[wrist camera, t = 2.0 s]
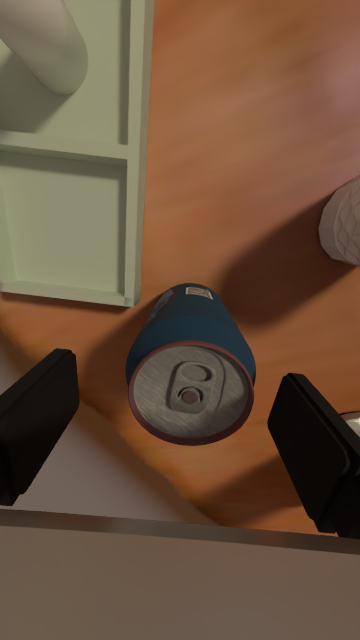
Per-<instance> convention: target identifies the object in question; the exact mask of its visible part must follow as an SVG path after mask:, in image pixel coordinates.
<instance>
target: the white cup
mask: <svg viewBox="0 0 360 640" xmlns="http://www.w3.org/2000/svg"><path fill="white" fill-rule="evenodd" d="M318 231H319V237H320V242H321V246H322V248H323V249H324V250H325V251H326V252H327V254H328V255H329V256H330V257H331V258H332V259H335V260H338V261H341V262H344V263H347V264H352V265H358V266H360V175H359V176H357V177H355V178H354V179H352V180H351V181H349V182H348V183H346V184H345V185H343V186H342V187H340V188H339V189H337V190H336V192H335V193H334V195H333V196H332V197H331V199H330V200H329V202H328V203H327V204H326V206H325V207H324V209H323V212H322V216H321V220H320V223H319V227H318Z"/></svg>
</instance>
